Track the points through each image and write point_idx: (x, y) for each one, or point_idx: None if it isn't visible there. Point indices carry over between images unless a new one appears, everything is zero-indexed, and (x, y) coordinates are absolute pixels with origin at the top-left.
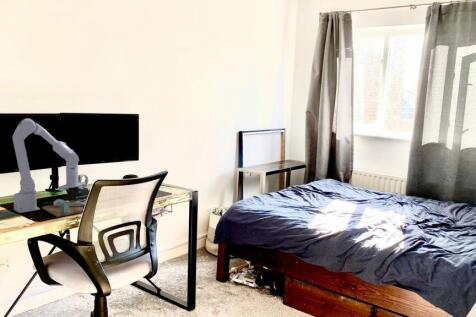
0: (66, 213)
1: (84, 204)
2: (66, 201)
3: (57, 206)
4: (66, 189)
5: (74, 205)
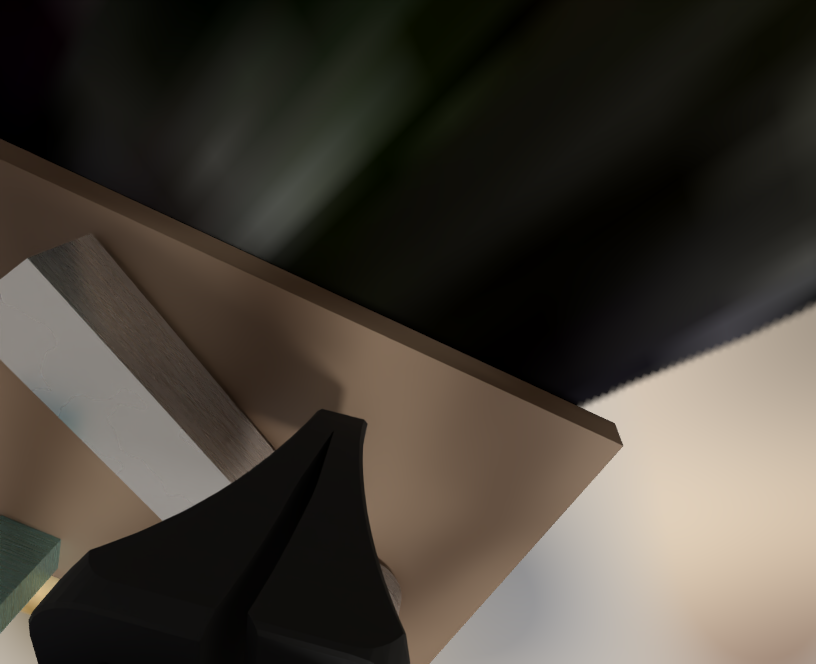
0: None
1: None
2: (162, 459)
3: None
4: (50, 636)
5: None
